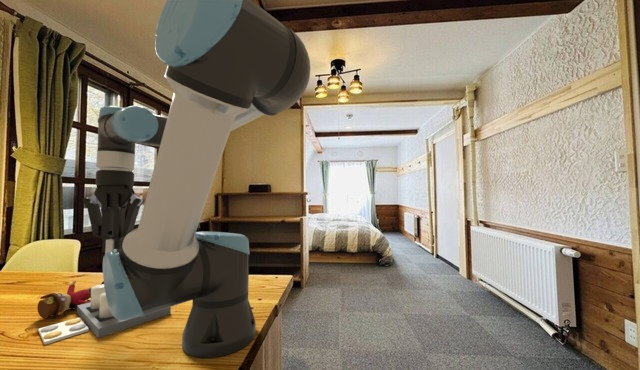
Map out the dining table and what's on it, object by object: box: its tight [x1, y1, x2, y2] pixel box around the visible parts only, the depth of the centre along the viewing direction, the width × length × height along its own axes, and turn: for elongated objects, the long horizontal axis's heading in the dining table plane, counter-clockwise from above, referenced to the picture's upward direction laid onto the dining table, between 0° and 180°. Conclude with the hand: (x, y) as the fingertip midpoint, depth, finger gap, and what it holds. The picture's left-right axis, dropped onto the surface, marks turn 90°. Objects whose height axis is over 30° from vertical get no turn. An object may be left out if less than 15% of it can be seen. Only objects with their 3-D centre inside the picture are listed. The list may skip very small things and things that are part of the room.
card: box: [38, 317, 90, 346], centre depth 60 cm, size 9×7×1 cm
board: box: [76, 302, 172, 339], centre depth 69 cm, size 20×15×2 cm
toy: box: [37, 280, 104, 319], centre depth 72 cm, size 11×7×15 cm
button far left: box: [90, 284, 105, 309], centre depth 68 cm, size 4×4×5 cm
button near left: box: [99, 293, 113, 318], centre depth 63 cm, size 4×4×5 cm
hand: (111, 265), depth 64 cm, fingers closed
